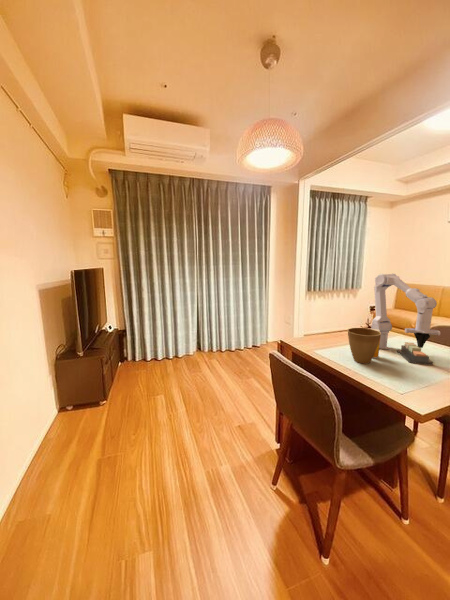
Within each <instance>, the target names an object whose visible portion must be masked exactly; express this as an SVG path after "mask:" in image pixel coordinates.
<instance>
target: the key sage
mask: <svg viewBox="0 0 450 600" xmlns="http://www.w3.org/2000/svg"><path fill="white" fill-rule="evenodd" d="M408 350H409V351H411V352H413V351H419V352H421V351H422V348H419V347H418V345H417V346H411V345H409V349H408Z"/></svg>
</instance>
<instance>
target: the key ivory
mask: <svg viewBox="0 0 450 600" xmlns="http://www.w3.org/2000/svg"><path fill="white" fill-rule="evenodd" d="M409 345H411V346H418V345H417V344H416V343H414V342H404V347H406V348H407V349H409Z"/></svg>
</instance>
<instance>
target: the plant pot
mask: <svg viewBox="0 0 450 600" xmlns="http://www.w3.org/2000/svg"><path fill="white" fill-rule="evenodd" d="M380 336H381V333H380V332H379V331H376V330H372V328H365V327H351V328H348V329H347V338H348V344H349V347H350V348H349V349H350V352H351V356H352V359H353V360H354V362H356V363H359V364H363V365H364V364H365V365H366V364H370V363H371V361H372V359H374V358H373V356H374V354H375V351H376V349H377V346H378V343H379V340H380Z"/></svg>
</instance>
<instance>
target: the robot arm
mask: <svg viewBox="0 0 450 600" xmlns="http://www.w3.org/2000/svg"><path fill="white" fill-rule="evenodd" d="M374 283H375V285H374V287H373V288H374V289H373V290H374V291H373V292H374V304H375V305H374V306H375V317H374V318H373V319H372V321H371V325H370V327H371V328H370V329H378V330H380V332H381V336H380V345H379V350H380V349H382V350H390V347H389V346H388V339H389V338H388V336H389V333H390V331H392V328H393V325H392V322H391V318H389V317H388V314H387V299H386V290H387V289H388V288H390V287H392V286H394V287H396V288H398V289H399V290H400V291H402V292H404V293H405V296H406V297H407V298H408V299H409V300H410V301H412V302H413V303H414V304H415V307H416V309H417V310H416V311H417V312H416V322H415V328H410V327H409V328H407V327H406V328H404V333H406V334H409V333H410V334H413V335H414V337H415V339H416V343H417V344H416V345H417V346H418V347H419V348H421V349H423V347H424V345H425V343H426V342H427V341H429V339H430V338H431V335H436V336H441V331H440V330H438V329H431V325H432V319H433V311H434V309H435V308H436V307H437V301H436V299H435V298H434V297H431V296H430V297H429V296H428V295H427V294H424V293H423V292H421V291H420V289H419V288H415V287H410V286H409V285H408V284H407V283H405V281H403V280H402V279H401V277H400V276H398V275H397V274H396V273H386V274H385V273H379V274H378V275H377V276H376V277H375V278H374Z"/></svg>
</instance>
